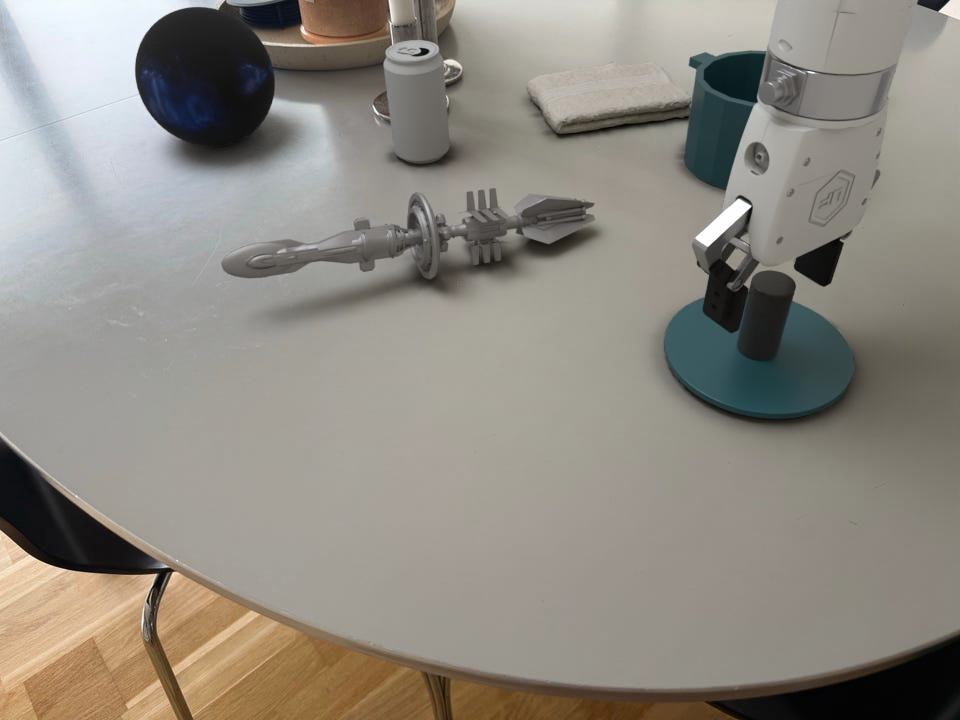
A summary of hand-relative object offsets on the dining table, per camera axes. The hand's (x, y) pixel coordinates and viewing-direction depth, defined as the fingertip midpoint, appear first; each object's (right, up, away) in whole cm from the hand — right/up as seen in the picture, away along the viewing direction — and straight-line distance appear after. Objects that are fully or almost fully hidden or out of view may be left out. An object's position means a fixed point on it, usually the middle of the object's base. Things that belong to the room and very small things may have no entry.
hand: (766, 299), depth 62 cm
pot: (+8, +17, +28) cm, 33 cm away
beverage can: (-28, +19, +32) cm, 47 cm away
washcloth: (-6, +26, +39) cm, 47 cm away
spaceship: (-27, +4, +15) cm, 31 cm away
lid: (0, -4, +4) cm, 6 cm away
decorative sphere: (-53, +22, +36) cm, 68 cm away
